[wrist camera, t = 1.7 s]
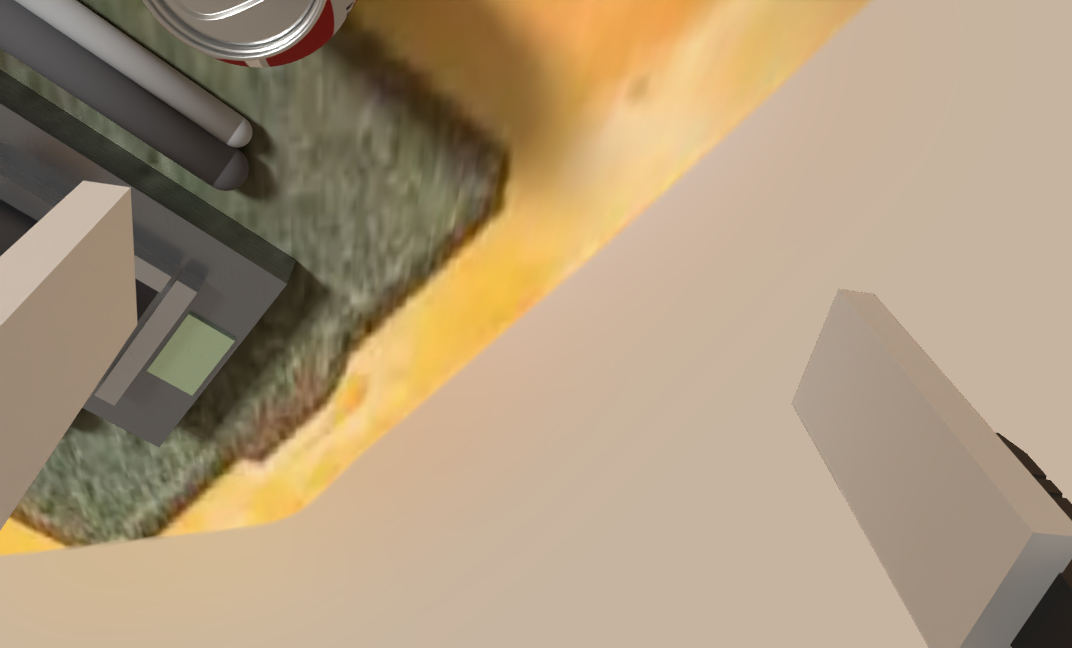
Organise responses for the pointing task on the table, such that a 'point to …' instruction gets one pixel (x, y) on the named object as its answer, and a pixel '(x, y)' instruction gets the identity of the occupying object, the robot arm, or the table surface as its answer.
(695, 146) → the table surface
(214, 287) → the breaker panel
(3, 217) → the breaker lever
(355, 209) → the table surface
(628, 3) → the table surface
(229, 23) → the soda can
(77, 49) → the block
